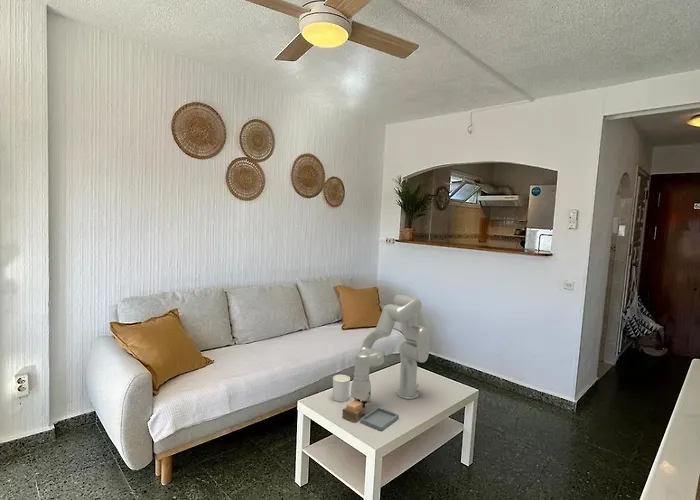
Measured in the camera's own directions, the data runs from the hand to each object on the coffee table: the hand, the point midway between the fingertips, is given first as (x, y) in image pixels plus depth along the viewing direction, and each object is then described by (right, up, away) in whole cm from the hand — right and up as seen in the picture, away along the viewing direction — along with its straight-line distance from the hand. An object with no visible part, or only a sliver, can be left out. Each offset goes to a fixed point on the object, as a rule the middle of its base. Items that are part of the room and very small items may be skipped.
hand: (360, 410), depth 204 cm
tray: (+10, -2, -7) cm, 12 cm away
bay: (-4, -1, -5) cm, 6 cm away
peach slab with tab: (-2, -1, -3) cm, 4 cm away
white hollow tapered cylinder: (-11, 0, +16) cm, 19 cm away
